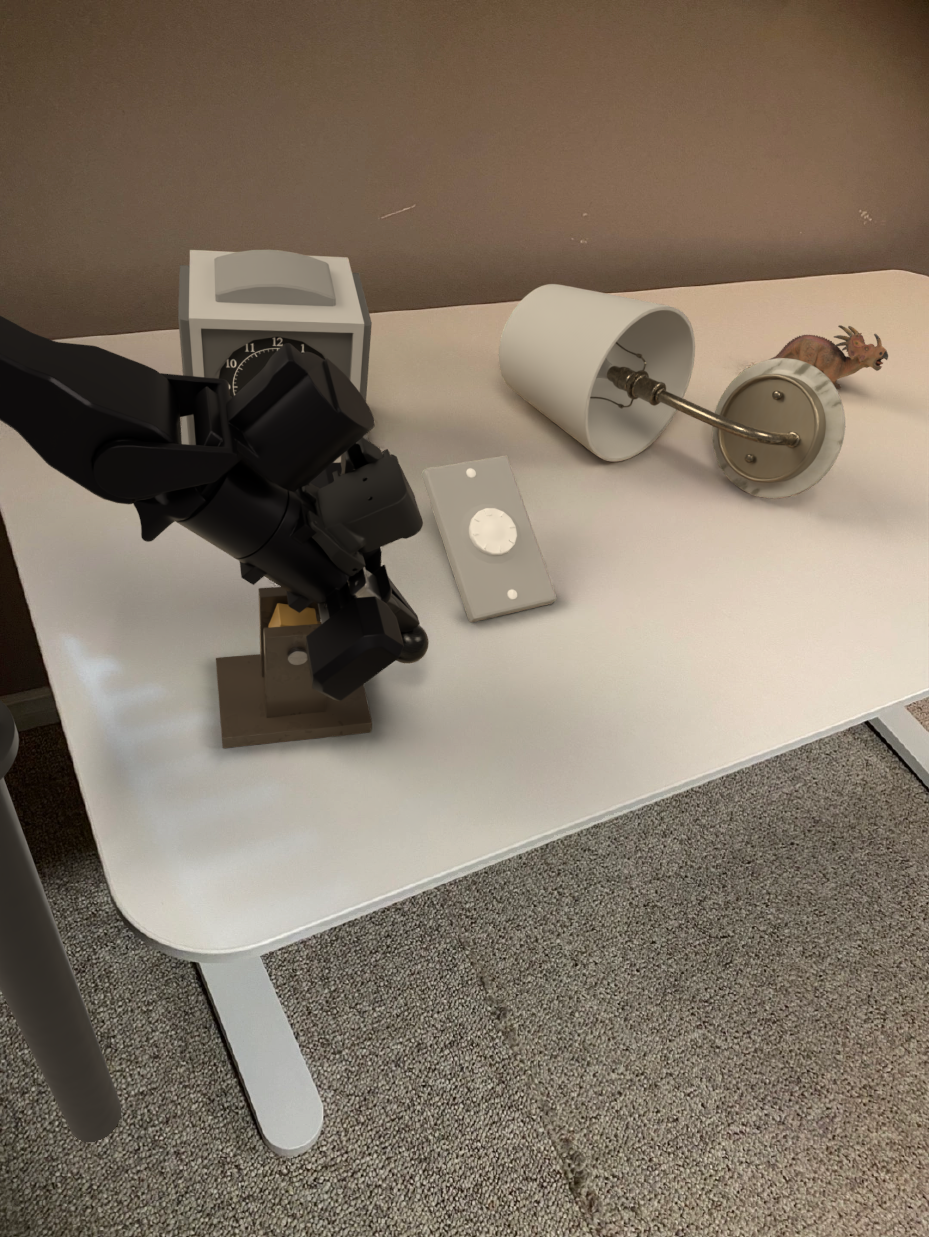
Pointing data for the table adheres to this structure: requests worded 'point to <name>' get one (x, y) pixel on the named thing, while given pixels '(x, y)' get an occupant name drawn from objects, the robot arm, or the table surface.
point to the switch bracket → (281, 689)
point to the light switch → (488, 537)
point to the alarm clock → (269, 316)
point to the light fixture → (665, 388)
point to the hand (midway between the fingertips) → (414, 624)
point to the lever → (287, 616)
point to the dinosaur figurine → (836, 354)
